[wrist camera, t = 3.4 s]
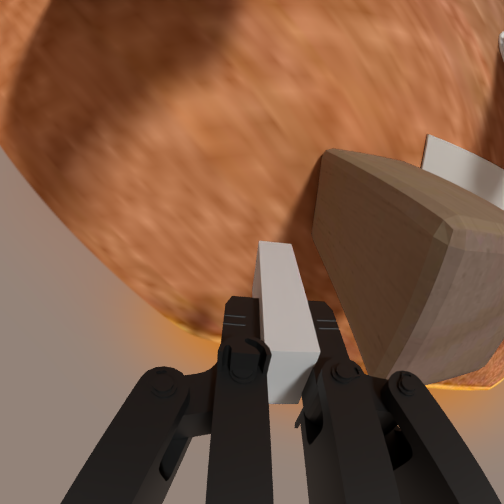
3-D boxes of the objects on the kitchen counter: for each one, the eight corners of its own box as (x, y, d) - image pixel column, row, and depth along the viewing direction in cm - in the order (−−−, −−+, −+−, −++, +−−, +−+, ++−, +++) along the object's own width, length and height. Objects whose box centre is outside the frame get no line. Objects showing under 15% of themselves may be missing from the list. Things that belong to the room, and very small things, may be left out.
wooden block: (388, 244, 30) (485, 372, 12) (308, 238, 30) (370, 402, 12) (406, 161, 25) (554, 242, 7) (320, 145, 25) (455, 221, 7)
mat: (427, 133, 24) (428, 134, 23) (515, 176, 25) (516, 177, 24) (389, 275, 32) (390, 276, 32) (480, 280, 33) (481, 281, 33)
